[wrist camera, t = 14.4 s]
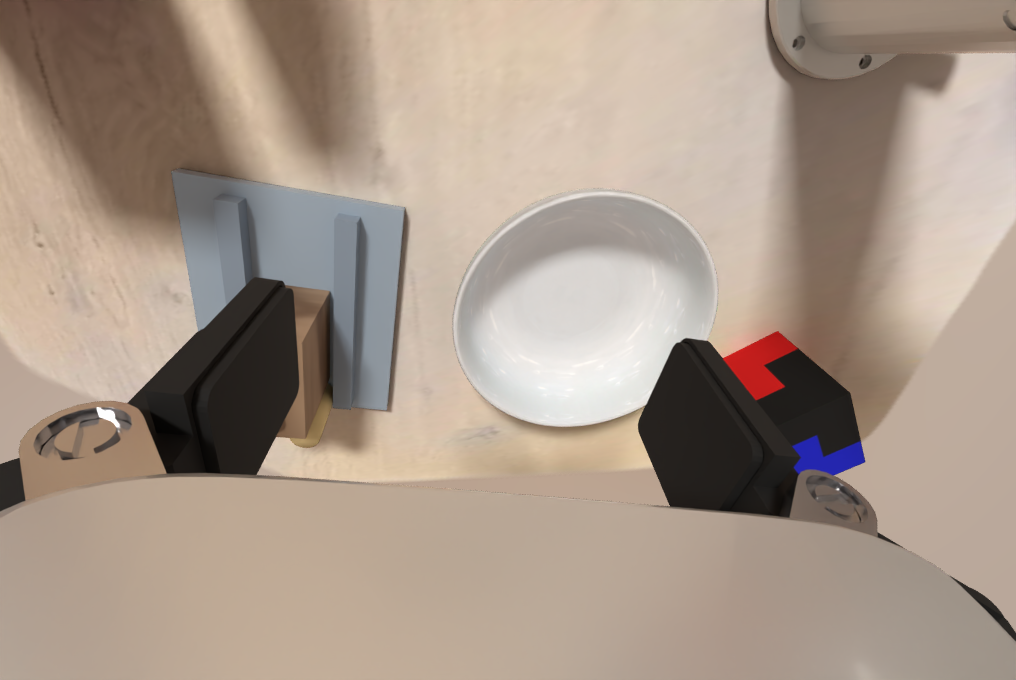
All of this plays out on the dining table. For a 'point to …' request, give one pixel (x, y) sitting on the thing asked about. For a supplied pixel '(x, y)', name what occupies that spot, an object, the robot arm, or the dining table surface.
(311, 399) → the panel block
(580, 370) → the serving bowl
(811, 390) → the puzzle toy
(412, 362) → the dining table surface
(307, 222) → the slot board
